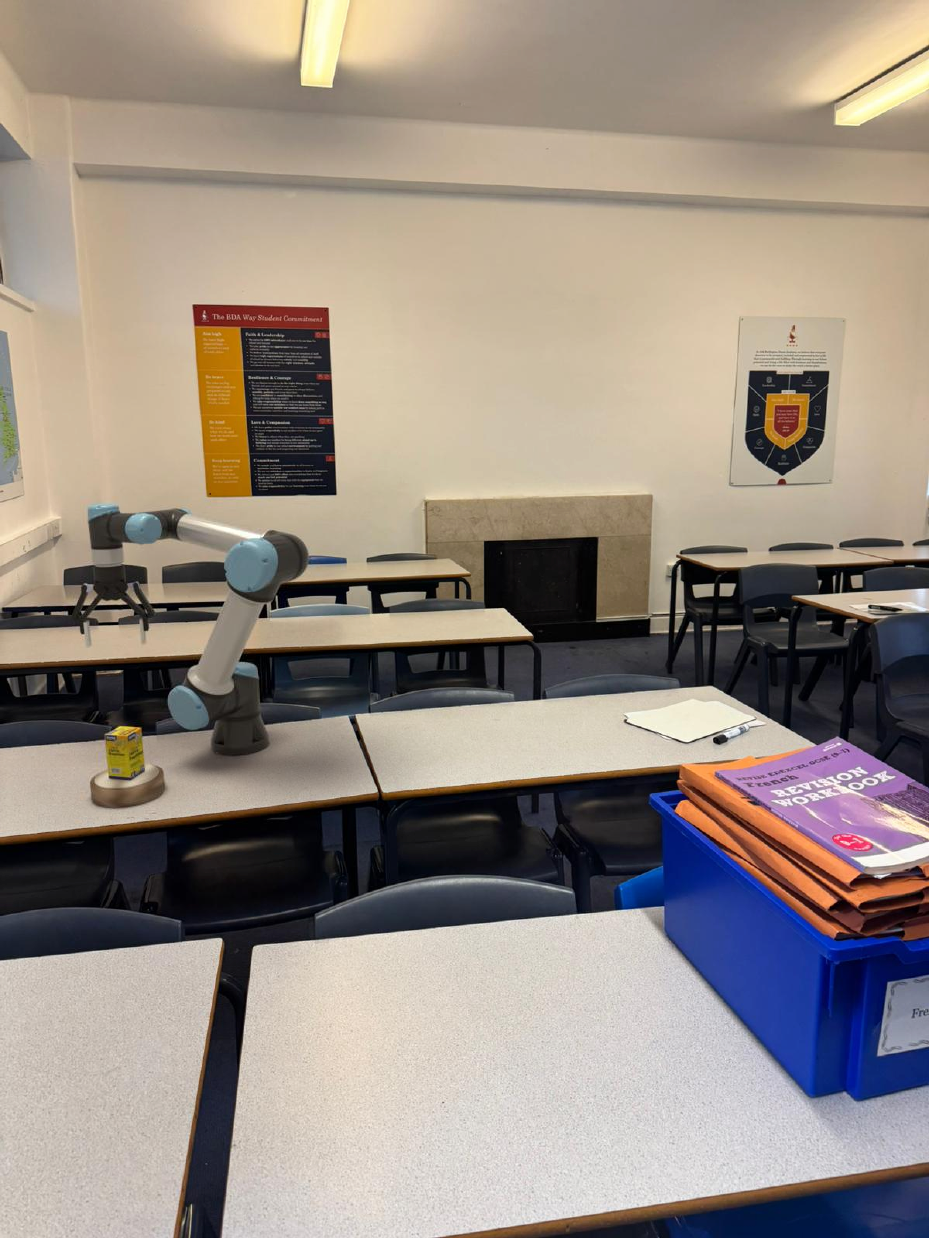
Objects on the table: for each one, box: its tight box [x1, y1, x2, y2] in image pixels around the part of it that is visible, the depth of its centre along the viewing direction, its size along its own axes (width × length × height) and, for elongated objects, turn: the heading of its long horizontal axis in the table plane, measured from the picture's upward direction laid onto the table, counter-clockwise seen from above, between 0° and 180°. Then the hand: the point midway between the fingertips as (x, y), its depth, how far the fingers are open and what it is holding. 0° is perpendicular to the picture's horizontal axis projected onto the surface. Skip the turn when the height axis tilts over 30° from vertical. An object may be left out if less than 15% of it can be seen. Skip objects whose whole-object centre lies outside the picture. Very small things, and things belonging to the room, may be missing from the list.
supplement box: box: [104, 725, 146, 780], centre depth 189 cm, size 6×6×11 cm
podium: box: [89, 763, 166, 809], centre depth 190 cm, size 16×16×4 cm
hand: (116, 644), depth 213 cm, fingers open, 13 cm apart
